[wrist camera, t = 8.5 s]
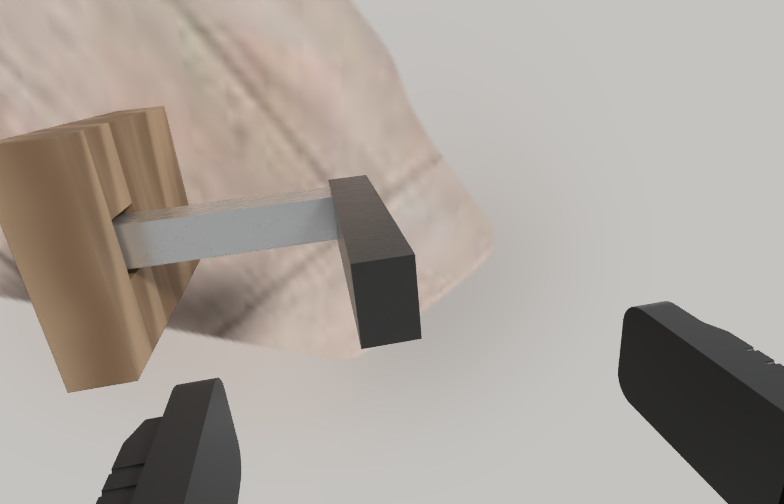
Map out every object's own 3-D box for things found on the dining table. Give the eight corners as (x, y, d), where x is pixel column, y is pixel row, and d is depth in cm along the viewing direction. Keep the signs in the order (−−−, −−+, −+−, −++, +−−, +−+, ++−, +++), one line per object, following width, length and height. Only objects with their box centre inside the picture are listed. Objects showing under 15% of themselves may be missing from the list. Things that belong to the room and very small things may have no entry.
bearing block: (160, 262, 37) (67, 392, 22) (117, 111, 33) (-31, 147, 18) (201, 256, 37) (137, 380, 23) (163, 106, 33) (56, 138, 19)
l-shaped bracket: (115, 264, 26) (-26, 416, 15) (97, 209, 25) (-70, 327, 13) (371, 228, 27) (421, 338, 16) (365, 174, 26) (414, 254, 15)
